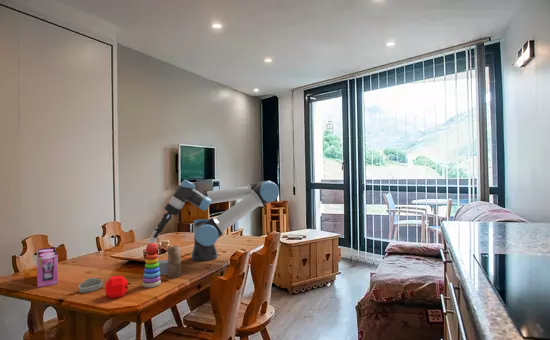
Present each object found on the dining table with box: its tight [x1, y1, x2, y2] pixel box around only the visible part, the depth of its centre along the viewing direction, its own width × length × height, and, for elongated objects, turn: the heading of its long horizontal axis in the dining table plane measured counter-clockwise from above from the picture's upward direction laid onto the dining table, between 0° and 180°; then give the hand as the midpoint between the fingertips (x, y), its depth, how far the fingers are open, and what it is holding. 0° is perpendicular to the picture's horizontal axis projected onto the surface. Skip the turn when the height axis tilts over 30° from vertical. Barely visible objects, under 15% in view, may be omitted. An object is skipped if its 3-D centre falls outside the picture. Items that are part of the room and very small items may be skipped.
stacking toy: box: [141, 242, 162, 288], centre depth 146 cm, size 8×8×19 cm
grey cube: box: [158, 259, 168, 277], centre depth 163 cm, size 6×6×6 cm
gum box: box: [36, 247, 59, 288], centre depth 156 cm, size 24×8×14 cm, turn 37°
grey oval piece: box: [78, 277, 103, 294], centre depth 141 cm, size 9×6×5 cm
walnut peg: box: [167, 245, 182, 279], centre depth 158 cm, size 6×6×14 cm
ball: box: [104, 274, 129, 299], centre depth 133 cm, size 8×8×8 cm
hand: (151, 240), depth 171 cm, fingers open, 13 cm apart
